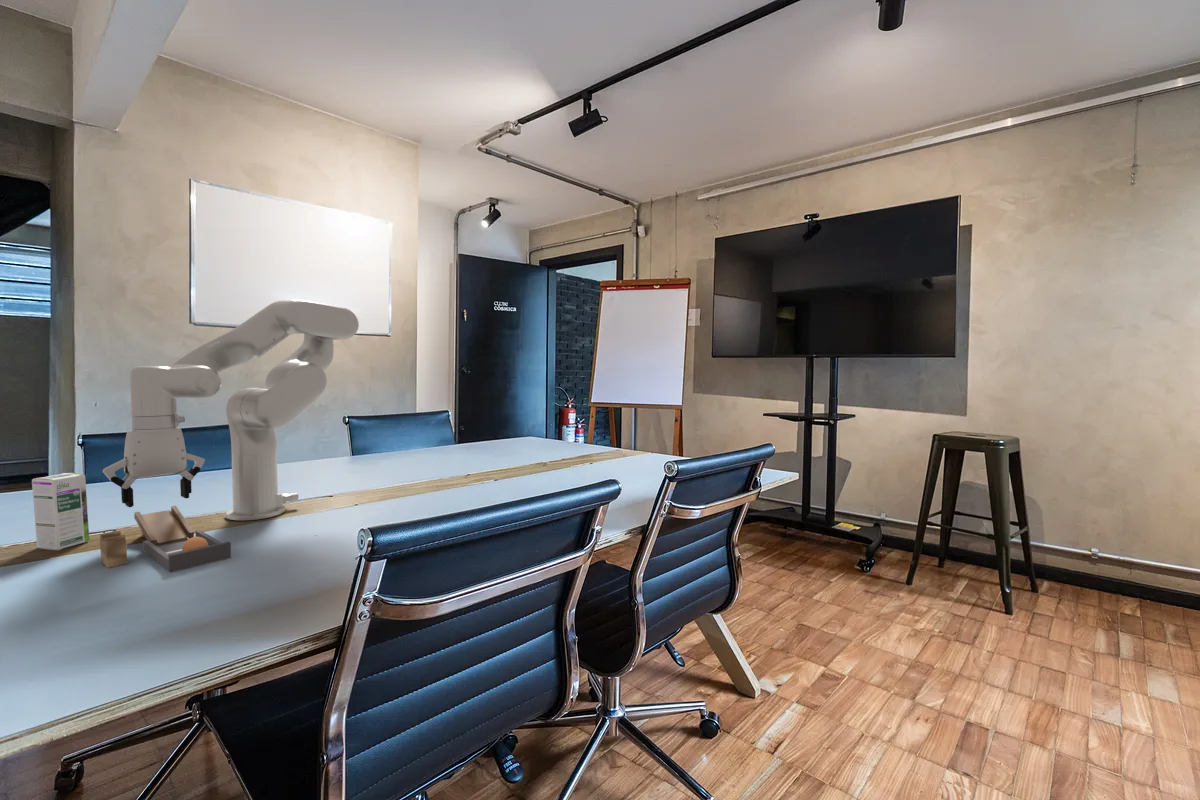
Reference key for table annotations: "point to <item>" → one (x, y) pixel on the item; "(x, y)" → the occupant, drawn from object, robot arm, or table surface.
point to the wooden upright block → (113, 549)
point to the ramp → (164, 526)
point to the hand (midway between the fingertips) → (158, 501)
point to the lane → (188, 553)
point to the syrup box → (60, 511)
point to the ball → (194, 543)
